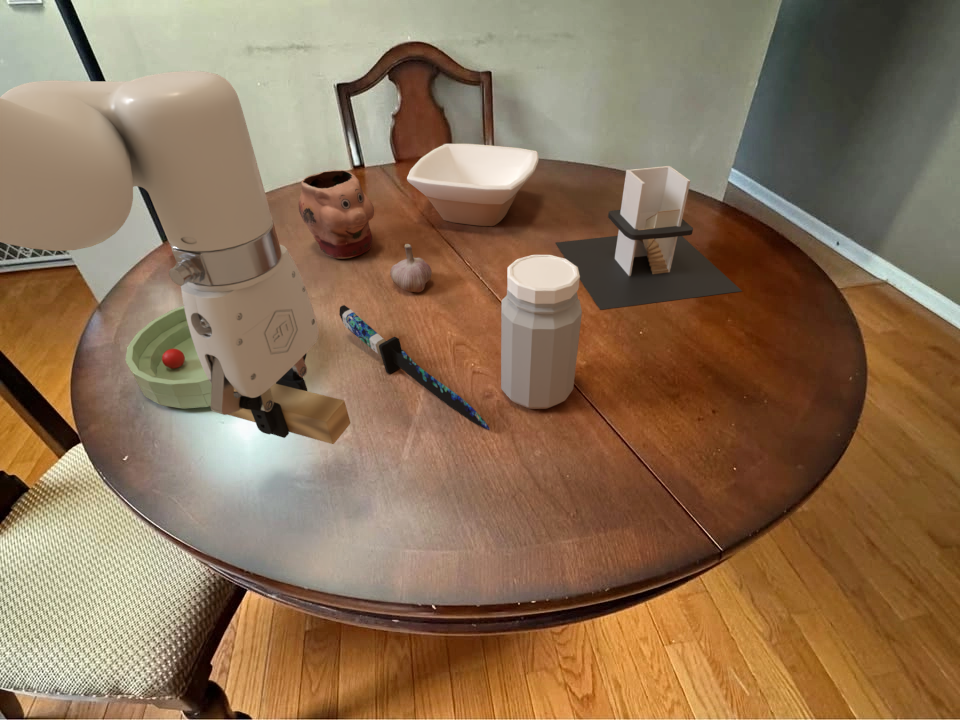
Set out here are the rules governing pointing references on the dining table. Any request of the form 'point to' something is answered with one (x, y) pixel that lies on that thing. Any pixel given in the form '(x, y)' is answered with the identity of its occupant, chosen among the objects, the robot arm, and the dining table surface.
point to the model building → (646, 248)
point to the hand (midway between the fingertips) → (286, 418)
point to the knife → (406, 364)
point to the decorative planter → (337, 213)
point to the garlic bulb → (411, 272)
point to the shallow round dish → (163, 382)
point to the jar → (540, 331)
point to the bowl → (473, 180)
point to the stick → (307, 413)
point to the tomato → (173, 358)
